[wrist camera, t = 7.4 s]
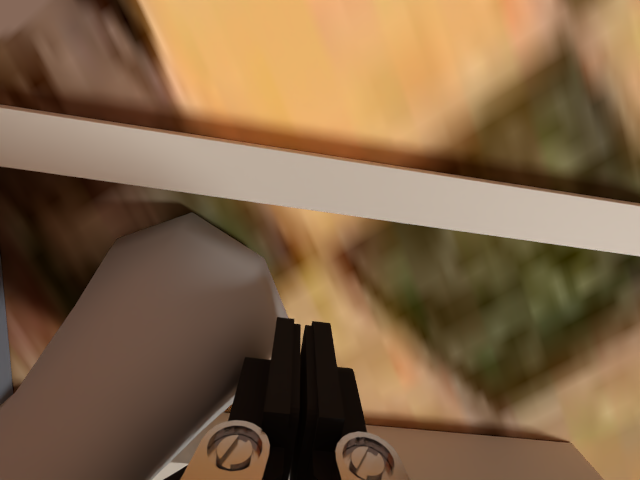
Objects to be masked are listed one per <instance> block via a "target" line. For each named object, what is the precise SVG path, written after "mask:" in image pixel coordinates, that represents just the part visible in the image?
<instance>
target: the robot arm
mask: <svg viewBox="0 0 640 480" xmlns="http://www.w3.org/2000/svg"><path fill="white" fill-rule="evenodd" d="M289 474H290V475H289ZM164 480H410V479H409V477H408V475H407V472H406V470H405V468H404V466H403V464H402V462H401V460H400V457H399V456H398V454H397V453H396V451H395V449H394V448H393V447H392V446H391V445H390V444H389V443H388V442H387V441H385V440H384V439H382V438H380V437H379V436H377V435H374V434H371V433H368V432H367V429H366V425H365V420H364V416H363V411H362V407H361V402H360V398H359V393H358V389H357V384H356V380H355V375H354V372H353V369H351V368H342V367H337V364H336V357H335V351H334V344H333V338H332V331H331V325H330V323H323V322H315V321H313V322H312V326H309V325H305V330H304V335H303V342H302V348H301V354H300V324H294V319H290V318H281V317H277V321H276V328H275V335H274V342H273V349H272V356H271V360H268V359H259V358H250V357H245V359H244V362H243V366H242V370H241V373H240V377H239V381H238V385H237V389H236V393H235V396H234V400H233V404H232V408H231V412H230V415H229V419H228V421H226V422H223V423H221V424H218V425H216V426H214V427H213V428H212V429H210V430H209V431H208V432H207V433H206V434H205V436H204V437H203V438H202V440H201V442H200V444H199V445H198V447H197V449H196V451H195V453H194V455H193V457H192V459H191V460H190V462H189V464H188V465H187V466H185V467H184V468H182V469H180V470H179V471H177V472H175V473H174V474H172V475H170V476H169V477H167V478H165V479H164Z"/></svg>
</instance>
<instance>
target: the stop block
mask: <svg viewBox="0 0 640 480" xmlns="http://www.w3.org/2000/svg"><path fill="white" fill-rule="evenodd" d="M12 395H13V386H12V375H11V364H10V353H9V342H8V332H7V321H6V310H5V299H4V288H3V277H2V266H1V256H0V405H1V404H3V403H4V402H5V401H6V400H7V399H8V398H9V397H10V396H12Z"/></svg>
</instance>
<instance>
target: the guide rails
mask: <svg viewBox="0 0 640 480" xmlns="http://www.w3.org/2000/svg"><path fill="white" fill-rule="evenodd" d="M0 166H1V167H8V168H15V169H22V170H29V171H37V172H44V173H51V174H58V175H65V176H72V177H79V178H86V179H93V180H101V181H108V182H115V183H122V184H129V185H136V186H143V187H150V188H158V189H165V190H172V191H179V192H186V193H193V194H200V195H207V196H215V197H222V198H229V199H236V200H243V201H250V202H257V203H264V204H272V205H279V206H286V207H293V208H300V209H307V210H314V211H321V212H329V213H336V214H343V215H350V216H357V217H364V218H371V219H378V220H386V221H393V222H400V223H407V224H414V225H421V226H428V227H435V228H442V229H450V230H457V231H464V232H471V233H478V234H485V235H492V236H499V237H507V238H514V239H521V240H528V241H535V242H542V243H549V244H556V245H564V246H571V247H578V248H585V249H592V250H599V251H606V252H613V253H621V254H628V255H635V256H640V203H634V202H628V201H621V200H615V199H608V198H602V197H595V196H589V195H582V194H576V193H569V192H563V191H557V190H550V189H544V188H537V187H531V186H524V185H518V184H511V183H505V182H498V181H492V180H485V179H479V178H473V177H466V176H460V175H453V174H447V173H440V172H434V171H427V170H421V169H414V168H408V167H402V166H395V165H389V164H382V163H376V162H369V161H363V160H356V159H350V158H343V157H337V156H330V155H324V154H318V153H311V152H305V151H298V150H292V149H285V148H279V147H272V146H266V145H259V144H253V143H246V142H240V141H234V140H227V139H221V138H214V137H208V136H201V135H195V134H188V133H182V132H175V131H169V130H163V129H156V128H150V127H143V126H137V125H130V124H124V123H117V122H111V121H104V120H98V119H91V118H85V117H79V116H72V115H66V114H59V113H53V112H46V111H40V110H33V109H27V108H20V107H14V106H7V105H1V104H0ZM12 396H13V395H12ZM12 396H10V397H9V398H8V399H7V400H6V401H5V402H4V403H3V404H1V405H0V409H1V408H2V406H3V405H4V404H5V403H6V402H7V401H8V400H9V399H10V398H11V397H12ZM229 415H230V413H224V412H222V413H221V414H220V415H219V416H218V417H217V418H216V419H215V420H213V421H212V422H211V423H210V424H209V425H208V426H207V427H206V428H204V429H203V430H202V431H201V432H200V433H199V434H198V435H197V436H196V437H195V438H194V439H193V440H192V441H191V442H190V443H189V444H188V445H187V446H186V447H185V448H184V449H183V450H182V451H181V452H180V453H179V454H178V455H177V456H176V457H175V458H174V459H173V460H172V461H171V462H170V463H169V464H168V465H167V466H165V467H164V468H163V469H162V470H161V471H160V472H159V473H158V474H157V475H156V476H155V477H154V478H153V479H152V480H164V479H165V478H167V477H169V476H170V475H172V474H174V473H175V472H177V471H179V470H180V469H182V468H184V467H185V466H187V465H188V464H189V462H190V460H191V459H192V457H193V455H194V453H195V451H196V449H197V447H198V445H199V444H200V442H201V440H202V438H203V437H204V436H205V434H206V433H207V432H208V431H209V430H210V429H212V428H213V427H214V426H216V425H218V424H221V423H223V422H226V421H228V419H229ZM366 429H367V432H368V433H371V434H374V435H377V436H379V437H380V438H382V439H384V440H385V441H387V442H388V443H389V444H390V445H391V446H392V447H393V448H394V449H395V451H396V453H397V454H398V456H399V457H400V460H401V462H402V464H403V466H404V468H405V470H406V472H407V475H408V477H409V479H410V480H604V479H603V478H602V477H601V476H600V475H599V474H598V472H597V471H596V470H595V469H594V468H593V467H592V466H591V465H590V463H589V462H588V461H587V460H586V459H585V458H584V457H583V455H582V454H581V453H580V452H579V451H578V450H577V449H576V448H575V446H574V445H573V444H572V443H566V442H554V441H543V440H532V439H520V438H509V437H498V436H486V435H475V434H463V433H452V432H441V431H429V430H418V429H406V428H395V427H384V426H372V425H366ZM289 475H290V474H289Z"/></svg>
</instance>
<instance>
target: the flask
mask: <svg viewBox="0 0 640 480" xmlns="http://www.w3.org/2000/svg"><path fill="white" fill-rule="evenodd" d="M277 317H281V318H288V316H287V313H286V311H285V308H284V306H283V303H282V301H281V298H280V296H279V293H278V291H277V288H276V286H275V284H274V281H273V279H272V276H271V274H270V271H269V269H268V266H267V264H266V261H265V259H264V258H263V257H262V256H260V255H258V254H257V253H255V252H254V251H252V250H251V249H249V248H247V247H246V246H244V245H243V244H241V243H240V242H238V241H236V240H235V239H233V238H232V237H230V236H229V235H227V234H225V233H224V232H222V231H221V230H219V229H218V228H216V227H214V226H213V225H211V224H210V223H208V222H207V221H205V220H204V219H202V218H200V217H199V216H197V215H196V214H194V213H193V212H191V213H188V214H186V215H183V216H180V217H177V218H174V219H171V220H169V221H166V222H163V223H160V224H157V225H154V226H152V227H149V228H146V229H143V230H140V231H137V232H135V233H132V234H129V235H126V236H123V237H120V238H118V239H117V240H116V241H115V243H114V244H113V245H112V247H111V248H110V250H109V251H108V253H107V254H106V256H105V258H104V259H103V261H102V262H101V264H100V266H99V267H98V269H97V271H96V272H95V274H94V275H93V277H92V279H91V280H90V282H89V284H88V285H87V287H86V289H85V290H84V292H83V293H82V295H81V297H80V298H79V300H78V302H77V303H76V305H75V306H74V308H73V309H72V311H71V312H70V313H69V315H68V316H67V318H66V319H65V321H64V322H63V324H62V325H61V327H60V328H59V330H58V331H57V332H56V334H55V335H54V337H53V338H52V340H51V341H50V343H49V344H48V346H47V347H46V349H45V350H44V351H43V353H42V354H41V356H40V357H39V359H38V360H37V362H36V363H35V365H34V366H33V368H32V369H31V370H30V372H29V373H28V375H27V376H26V378H25V379H24V381H23V382H22V384H21V385H20V387H19V388H18V389H17V391H16V392H15V393H14V394H13V396H12V397H11V398H10V399H9V400H8V401H7V402H6V403H5V404H4V405H3V406H2V408H1V409H0V480H152V479H153V478H154V477H155V476H156V475H157V474H158V473H159V472H160V471H161V470H162V469H163V468H164V467H165V466H167V465H168V464H169V463H170V462H171V461H172V460H173V459H174V458H175V457H176V456H177V455H178V454H179V453H180V452H181V451H182V450H183V449H184V448H185V447H186V446H187V445H188V444H189V443H190V442H191V441H192V440H193V439H194V438H195V437H196V436H197V435H198V434H199V433H200V432H201V431H202V430H203V429H204V428H206V427H207V426H208V425H209V424H210V423H211V422H212V421H213V420H215V419H216V418H217V417H218V416H219V415H220V414H221V413H222V412H224V411H225V410H226V409H227V408H228V407H229V406H230V405H231V404H233V400H234V396H235V393H236V389H237V385H238V381H239V377H240V373H241V370H242V366H243V362H244V359H245V357H250V358H259V359H268V360H271V356H272V349H273V342H274V335H275V328H276V321H277Z"/></svg>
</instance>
